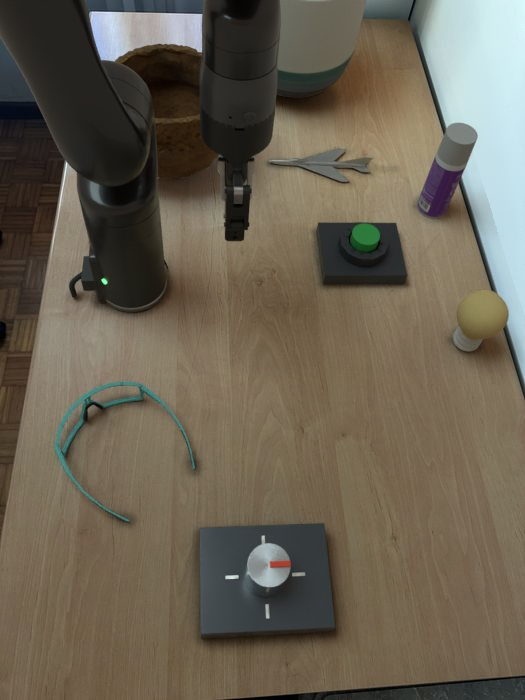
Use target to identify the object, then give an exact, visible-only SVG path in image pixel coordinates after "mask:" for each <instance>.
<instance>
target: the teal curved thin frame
mask: <svg viewBox="0 0 525 700" xmlns="http://www.w3.org/2000/svg"><path fill="white" fill-rule="evenodd" d="M127 386H129V387H137V388H138V390H139V392H140V393H139V395H138V396H129V397H124V398H119V399H115V400H112V401H109V402H106V403H100V402H99V401H96V400H93V399H91V397H92V396H93V395H96V394H97V393H98V392H101V391H104V390H106V389H110V388H114V387H127ZM145 395H147V396H148V397H149V398H150V399H152V400H153V401H155V402H156V403H158V404H159V405H161V407H163V408H164V409H165V410H166V411H167V412H168V413H169V415H170V416H171V418H172V419H173V421H175V424H176V425H177V426H178V428H179V429H180V431H181V434H182V436H183V438H184V440H185V443H186V446H187V450H188V454H189V458H190V463H191V467H192V469H193V470H195V469H196V465H195V460H194V456H193V451H192V446H191V444H190V441H189V437H188V435H187V433H186V430H185V429H184V427H183V425H182V423H181V422H180V420H179V419H178V418H177V417H176V415H175V413H174V412H173V411H172V410H171V409H170V407H169V406H168V405H167V404H166V402H164V401H163V400H162V399H161V397H159V396H158V394H156V393H155V392H153V391H152V390H151V389H149V388H148V387H147V386H145V384H143V383H139V382H136V381H115V382H109V383H106V384H102V385H99V386H98V387H94V388H92V389H90V390H89V391H87V392H86V393H84V394H83V395H82V396H80V397H79V398H78V399H77V400H76V401H75V402H73V404H72V405H71V406H70V407H69V408H68V409H67V411H66V413H65V414H64V415H63V417H62V419H61V421H60V423H59V425H58V429H57V432H56V435H55V440H54V451H55V453H56V456H57V457H58V460H59V462H60V465H61V467H62V468H63V470H64V471H65V474H66V475H67V476H68V477H69V479H70V480H71V481H72V482H73V484H75V486H76V487H77V488H78V489H79V490H80V491H81V492H82V494H83V495H84V496H85V497H86V498H87V499H89V501H91V502H92V503H93V504H95V505H96V506H98V507H99V508H100V509H102V510H103V511H105V512H107V513H108V514H109V515H112V516H114V517H116V518H117V519H120V520H122V521H124V522H127V523H129V522H130V519H128V518H127V517H124V516H122V515H120V514H118V513H116V512H114V511H112V510H111V509H109V508H107V507H106V506H105V505H103V504H102V503H100V502H98V501H97V500H96V499H95V498H93V497H92V496H91V495H90V494H89V493H88V492H87V491H85V490H84V487H82V485H80V483H79V482H78V481H77V480H76V478H75V477H74V475H73V473H72V471H71V469H70V468H69V465H68V464H67V461H66V459H65V456H66V455H67V452H68V449H69V447H70V444H71V443H72V440H73V439H74V438H75V436H76V435H77V432H78V431H79V429H80V428H81V427H82V426H83V425H84V423H85V422H88V419H89V409H90V408H91V407H92V406H94V407H96V408H98V409H100V410H102V411H103V410H104V409H105V408H108V407H111V406H116V405H119V404H123V403H129V402H138V401H143V400H144V397H145ZM82 403H83V404H82ZM81 404H82V407H81V411H80V420H79V421H78V422H77V423H76V425H75V426H74V428H73V429H72V430H71V432H70V434H69V435H68V438H67V439H66V441H65V443H64V445H63V448H62V449H61V446H60V440H61V435H62V432H63V431H64V430H63V429H64V427H65V425H66V423H67V421H68V419H69V418H70V416H71V414H72V413H73V412H74V411H75V409H76V408H77V407H79V406H80V405H81Z"/></svg>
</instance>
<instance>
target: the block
mask: <svg viewBox="0 0 525 700" xmlns="http://www.w3.org/2000/svg"><path fill="white" fill-rule="evenodd" d="M364 223H365V224H370V225H373V226H374V227H376V228H377V229H378V231H379V233H380V239H379V242H378V245H377V247H376V249H375V250H373V251H371V252H368V253H364V252H360V251H357V250H356V249H354V248H353V247H352V245H351V243H350V238H351V235H352V231H353V229H354V227H355V226H357V225H359V224H364ZM315 234H316V243H317V250H318V259H319V266H320V275H321V282H322V286H323V285H324V286H325V285H326V286H327V285H328V286H329V285H330V286H331V285H333V286H335V285H336V286H338V285H342V286H345V285H346V286H347V285H356V286H357V285H360V286H361V285H404V284H405V282H406V279H407V277H408V272H407V268H406V262H405V257H404V252H403V248H402V243H401V238H400V235H399V230H398V224H397V222H368V221H365V222H363V221H355V222H328V221H327V222H324V221H323V222H321V221H320V222H317V226H316V230H315Z"/></svg>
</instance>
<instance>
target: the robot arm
mask: <svg viewBox="0 0 525 700" xmlns="http://www.w3.org/2000/svg"><path fill="white" fill-rule="evenodd" d="M280 28H281V6H280V0H203V5H202V13H201V52H202V61H201V68H200V133H201V137H202V139H203V141H204V143H205V144H206V145H207V146H208V147H209V148H210V149H211V150H212V151H214V152H216V153H217V154H218V156H217V172H218V173H219V197H220V199H221V200H222V201H223V202H224V213H223V215H222V217H223V219H224V222H223V228H224V240H225V241H226V242H243V241H244V240H245V231H249V228H250V221H249V220H250V207H251V200H252V198H253V175H254V173H255V165H256V164H255V163H256V161H255V160H256V158H255V156H257V155H258V154H261V153H262V152H263V151H265V150H266V149H267V147H269V145H270V143H271V142H272V138H273V133H274V124H275V114H276V105H277V96H278V95H277V86H278V69H277V60H278V51H279V41H280ZM0 40H1V42H2V43H3V45H4V46H5V48H6V50H7V52H8V53H9V54H10V56H11V57H12V59H13V61H14V62H15V64H16V65H17V67H18V69H19V70H20V73H21V74H22V77H23V78H24V80H25V82H26V84H27V86H28V87H29V90H30V92H31V94H32V96H33V98H34V100H35V102H36V104H37V107H38V108H39V110H40V113H41V114H42V117H43V119H44V121H45V124H46V126H47V128H48V130H49V132H50V135H51V137H52V139H53V141H54V143H55V145H56V147H57V149H58V151H59V152H60V155H61V156H62V158H63V160H64V161H65V162H66V163H67V164H68V166H69V167H70V168H71V169H72V170H74V171H75V172H76V191H77V196H78V197H77V198H78V200H79V205H80V208H81V213H82V217H83V221H84V226H85V230H86V234H87V239H88V242H89V250H88V255H83V258H82V265H81V266H82V268H81V271H80V272H79V273H77V274H76V275H74V277H73V278H71V280H70V281H69V282H68V283H69V284H68V288H69V291H70V295H71V297H72V298H76V297H77V296H78V294H77V291H76V284H77V283H78V282H79V281H80V282H81V287H82V290H83V291H84V292H96V297H97V300H98V303H99V304H107V305H108V306H109V307H111V308H112V309H114V310H117V311H120V312H125V313H139V312H144V311H146V310H150V309H151V308H153V307H154V306H156V305H157V304H158V303H160V302H161V301H162V299H163V298H164V296H165V294H166V292H167V288H168V278H167V272H168V273H169V272H170V271H169V270H170V269H169V266H168V264H167V261H166V260H165V252H164V241H163V240H164V239H163V229H162V218H161V217H162V216H161V206H160V196H159V195H160V194H159V178H158V156H157V142H156V127H155V113H154V105H153V100H152V96H151V93H150V91H149V89H148V87H147V85H146V84H145V82H144V81H143V80H142V78H141V77H140V76H139V75H138V74H137V73H136V72H134V71H133V70H132V69H130V68H129V67H127V66H125V65H123V64H121V63H118V62H115V60H108V59H102V57H101V55H100V52H99V50H98V46H97V42H96V39H95V36H94V32H93V26H92V22H91V17H90V13H89V7H88V2H87V0H0ZM166 270H167V271H166Z"/></svg>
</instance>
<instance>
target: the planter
mask: <svg viewBox="0 0 525 700" xmlns="http://www.w3.org/2000/svg"><path fill="white" fill-rule="evenodd" d="M366 5H367V0H280V6H281V28H280V41H279V51H278V60H277V69H278V86H277V96H281V97H283V98H290V99H303V98H309V97H313V96H316V95H318V94H320V93H323V92H324V91H326V90H328V89H329V88H331V87H333V86H334V85H335V83H337V82H338V81H339V80H340V79H341V77H342V76H343V74H344V73H345V71H346V69H347V68H348V66H349V64H350V62H351V59H352V57H353V55H354V51H355V49H356V45H357V41H358V37H359V34H360V30H361V25H362V22H363V18H364V14H365V9H366Z"/></svg>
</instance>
